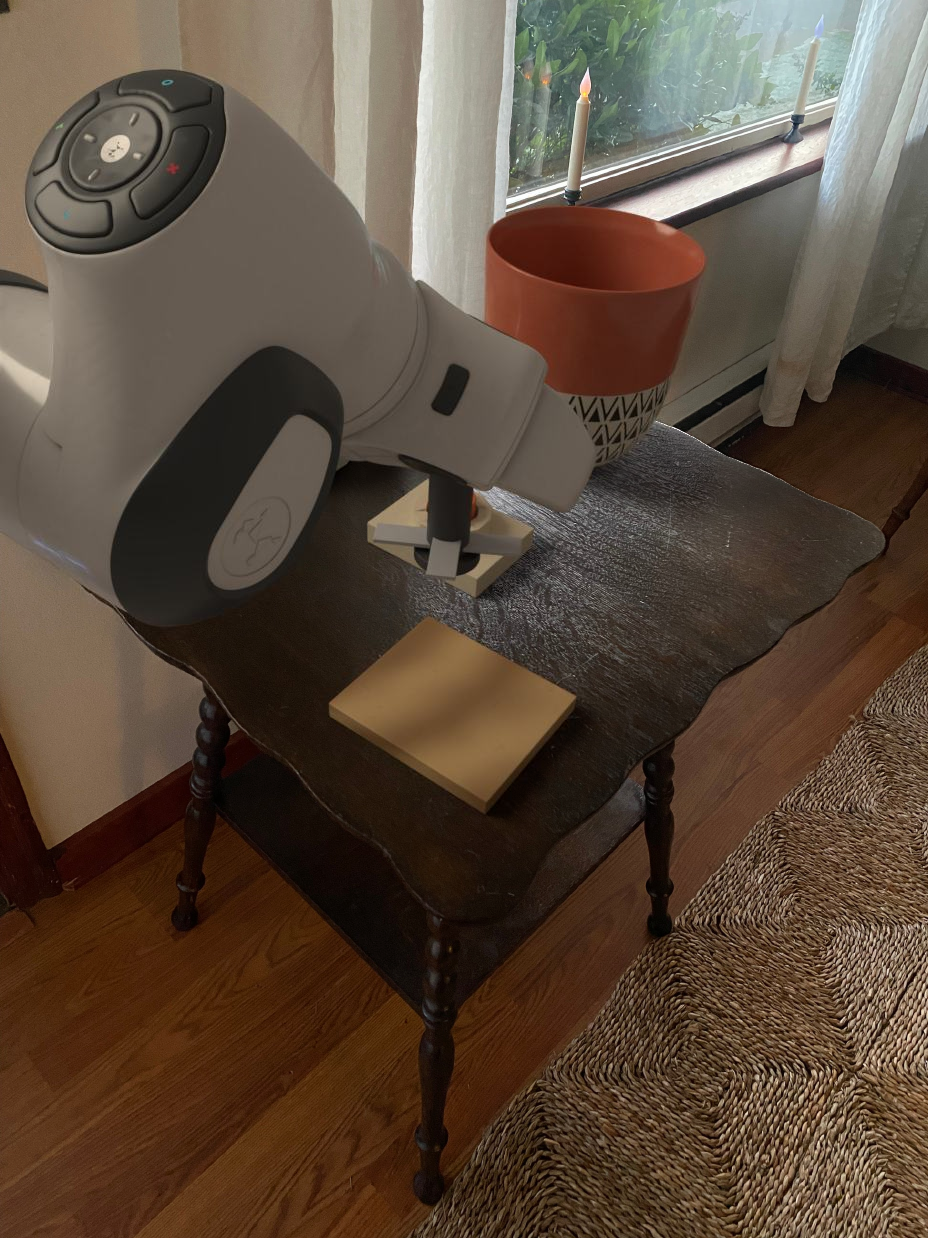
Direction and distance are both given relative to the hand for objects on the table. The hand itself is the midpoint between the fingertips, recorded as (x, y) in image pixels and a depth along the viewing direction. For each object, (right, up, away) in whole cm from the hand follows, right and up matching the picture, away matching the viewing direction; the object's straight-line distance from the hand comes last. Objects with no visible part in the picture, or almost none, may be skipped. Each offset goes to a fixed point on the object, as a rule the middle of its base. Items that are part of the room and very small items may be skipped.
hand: (459, 450), depth 54 cm
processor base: (-1, -3, +27) cm, 27 cm away
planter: (+11, +7, +39) cm, 41 cm away
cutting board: (-1, -17, +13) cm, 21 cm away
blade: (-1, -6, +5) cm, 8 cm away
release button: (-1, -1, +25) cm, 25 cm away
